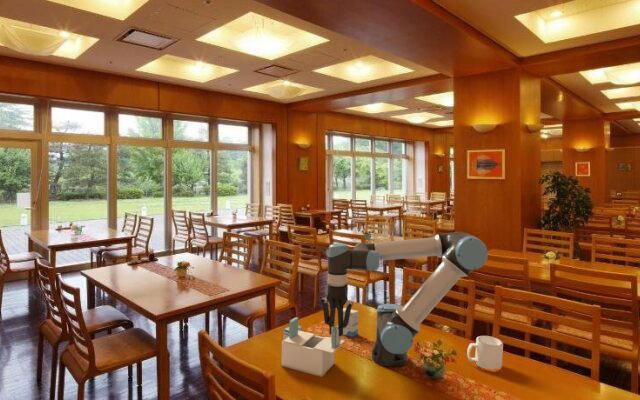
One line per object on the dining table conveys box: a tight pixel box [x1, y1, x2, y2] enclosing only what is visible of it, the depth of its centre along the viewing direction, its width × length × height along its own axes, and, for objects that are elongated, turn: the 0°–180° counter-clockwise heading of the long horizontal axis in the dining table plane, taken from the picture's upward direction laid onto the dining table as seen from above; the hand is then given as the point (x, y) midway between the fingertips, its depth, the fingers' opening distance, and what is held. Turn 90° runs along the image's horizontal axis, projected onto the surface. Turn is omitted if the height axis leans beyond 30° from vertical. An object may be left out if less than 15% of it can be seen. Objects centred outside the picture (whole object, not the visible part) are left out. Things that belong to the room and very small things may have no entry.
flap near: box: [313, 325, 346, 354], centre depth 156 cm, size 8×12×8 cm
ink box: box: [342, 307, 359, 338], centre depth 193 cm, size 9×5×12 cm, turn 58°
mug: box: [466, 335, 504, 370], centre depth 163 cm, size 14×10×11 cm
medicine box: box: [282, 324, 303, 342], centre depth 177 cm, size 8×4×9 cm, turn 141°
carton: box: [280, 335, 336, 378], centre depth 161 cm, size 18×12×10 cm, turn 65°
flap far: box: [282, 316, 316, 346], centre depth 162 cm, size 8×12×8 cm
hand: (335, 342), depth 155 cm, fingers closed on flap near, 1 cm apart
